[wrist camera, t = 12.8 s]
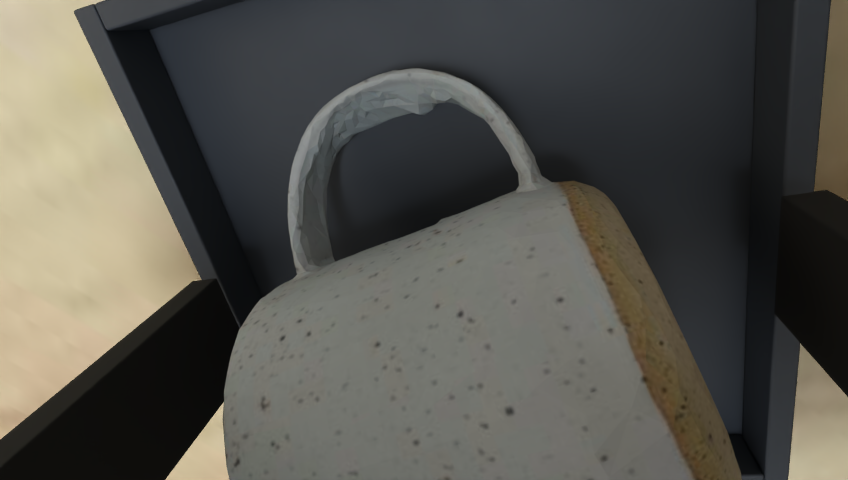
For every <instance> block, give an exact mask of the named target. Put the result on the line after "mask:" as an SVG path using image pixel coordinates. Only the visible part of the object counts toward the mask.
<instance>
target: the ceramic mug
mask: <svg viewBox="0 0 848 480" xmlns="http://www.w3.org/2000/svg"><path fill="white" fill-rule="evenodd" d="M445 102H449V103H454V104H458V105H460V106H461V107H463V108H465V109H466V110H468V111H470V112H471V113H473V114H475V115H477V116H479V117H481V118H483V119H484V120H485V121H486V122H487V123H488V124H489V125H490V127H491V128H492V130H493V131H494V133H495V134H496V136H497V137H498V139H499V140H500V142H501V143H502V145H503V146H504V148H505V149H506V151H507V152H508V154H509V155H510V158H511V161H512V164H513V166H514V167H515V169H516V171H517V172H518V177H519V186H518V188H517V190H516V191H513V192H511V193H508V194H505V195H503V196H500V197H498V198H495V199H493V200H491V201H489V202H486V203H484V204H481V205H478V206H476V207H473V208H471V209H469V210H466V211H464V212H461V213H459V214H456V215H453V216H450V217H447V218H444V219H441V220H440V221H439V222H438V223H437V224H435V225H433V226H430V227H427V228H425V229H422V230H420V231H417V232H414V233H412V234H409V235H406V236H404V237H401V238H398V239H395V240H392V241H389V242H386V243H383V244H381V245H378V246H375V247H372V248H369V249H366V250H364V251H361V252H359V253H357V254H354V255H352V256H349V257H346V258H343V259H341V260H338V261H336V262H335V260H334V258H333V254H332V248H331V243H330V238H329V231H328V223H327V185H328V181H329V177H330V174H331V170H332V165H333V163H334V161H335V159H336V156H337V154H338V152H339V151H340V149H341V148H342V147H343V145H345V144H346V143H348V142H349V141H350V140H351V138H352V137H353V135H355V134H357V133H359V132H362V131H364V130H367V129H369V128H372V127H374V126H376V125H379V124H381V123H383V122H386V121H388V120H390V119H392V118H395V117H399V116H403V115H406V114H410V113H416V114H419V115H425V114H427V113H428V112H430V111H431V110H433V109H434V107H435V106H436V104H437V103H445ZM288 227H289V234H290V242H291V248H292V252H293V258H294V264H295V267H296V272H297V275H296V276H295V277H294V278H293V279H292V280H290V281H288V282H285V283H283V284H282V285H280V286H278V287H277V288H275V289H274V290H273V291H271V292H270V293H269V294H267V295H266V296H265V297H263V298H261V299H260V300H259V302H258V303H257V304H256V305H255V307H254V308H253V309H252V311H251V312H250V314H249V315H248V317H247V318H246V320H245V322H244V323H243V325H242V326H241V328H240V329H239V332H238V335H237V338H236V341H235V344H234V347H233V350H232V354H231V357H230V362H229V367H228V372H227V377H226V383H225V389H224V409H223V429H224V442H225V454H226V465H227V470H228V475H229V479H230V480H742V478H741V472H740V469H739V466H738V463H737V460H736V457H735V454H734V451H733V448H732V444H731V441H730V438H729V435H728V432H727V430H726V428H725V425H724V423H723V421H722V419H721V417H720V414H719V412H718V410H717V408H716V405H715V403H714V401H713V399H712V396H711V394H710V392H709V390H708V388H707V385H706V383H705V381H704V379H703V377H702V375H701V372H700V370H699V368H698V366H697V364H696V362H695V360H694V357H693V355H692V353H691V351H690V349H689V347H688V345H687V342H686V340H685V338H684V336H683V334H682V332H681V330H680V328H679V326H678V323H677V321H676V319H675V317H674V315H673V313H672V311H671V309H670V307H669V305H668V302H667V300H666V298H665V296H664V294H663V292H662V290H661V288H660V286H659V284H658V282H657V280H656V278H655V276H654V274H653V272H652V270H651V268H650V267H649V265H648V263H647V261H646V259H645V257H644V255H643V253H642V252H641V250H640V248H639V246H638V244H637V242H636V240H635V239H634V237H633V235H632V233H631V232H630V230H629V228H628V226H627V224H626V223H625V221H624V219H623V218H622V216H621V214H620V213H619V211H618V209H617V208H616V206H615V205H614V203H613V202H612V201H611V200H610V199H609V198H608V197H607V196H606V194H604V193H603V192H601V191H600V190H598V189H597V188H595V187H593V186H589V185H586V184H583V183H580V182H576V181H563V182H551V181H549V180H548V179H546V178H544V177H543V176H542V175H541V173H540V170H539V168H538V165H537V163H536V160H535V156H534V155H533V153H532V151H531V150H530V148H529V146H528V144H527V143H526V141H525V140H524V138H523V136H522V135H521V133H520V132H519V130H518V129H517V127H516V126H515V125H514V123H513V122H512V121H511V119H510V118H509V117H508V116H507V114H506V113H505V112H504V111H503V109H502V108H501V107H500V106H499V105H498V104H497V103H496V102H495V101H494V100H493V99H492V98H491V97H490V96H488V95H487V94H486V93H485V92H483V91H482V90H481V89H479V88H478V87H476V86H474V85H473V84H471V83H469V82H467V81H465V80H463V79H460V78H458V77H455V76H453V75H450V74H448V73H445V72H440V71H433V70H426V69H421V68H410V69H404V70H393V71H390V72H386V73H382V74H379V75H376V76H373V77H371V78H369V79H367V80H364V81H362V82H360V83H358V84H356V85H354V86H352V87H350V88H348V89H346V90H345V91H343V92H342V93H340V94H339V95H337V96H336V97H334V98H333V99H332V100H331V101H329V102H328V103H327V104H326V105H324V106H323V107H322V109H321V110H320V111H319V112H318V113H317V114H316V115H315V117H314V118H313V119H312V121H311V122H310V124H309V125H308V127H307V129H306V131H305V132H304V134H303V136H302V138H301V141H300V144H299V146H298V149H297V152H296V155H295V157H294V161H293V164H292V168H291V175H290V182H289V189H288Z"/></svg>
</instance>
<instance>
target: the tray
mask: <svg viewBox="0 0 848 480" xmlns="http://www.w3.org/2000/svg"><path fill="white" fill-rule="evenodd" d="M830 6H831V0H105V1H102V2H99V3H97V4H92V5H89V6H86V7H83V8H80V9H77V10H75V11H74V14H75V16H76V18H77V20H78V22H79V24H80V26H81V28H82V30H83V32H84V35H85V37H86V39H87V41H88V43H89V45H90V47H91V49H92V51H93V53H94V55H95V58H96V60H97V62H98V64H99V66H100V68H101V70H102V72H103V74H104V76H105V78H106V81H107V83H108V85H109V87H110V89H111V91H112V93H113V95H114V97H115V99H116V101H117V104H118V106H119V108H120V110H121V112H122V114H123V116H124V118H125V120H126V122H127V125H128V127H129V129H130V131H131V133H132V135H133V137H134V139H135V141H136V143H137V145H138V148H139V150H140V152H141V154H142V156H143V158H144V160H145V162H146V164H147V166H148V168H149V171H150V173H151V175H152V177H153V179H154V181H155V183H156V185H157V187H158V189H159V191H160V194H161V196H162V198H163V200H164V202H165V204H166V206H167V208H168V210H169V212H170V215H171V217H172V219H173V221H174V223H175V225H176V227H177V229H178V231H179V233H180V235H181V238H182V240H183V242H184V244H185V246H186V248H187V250H188V252H189V254H190V256H191V258H192V261H193V263H194V265H195V267H196V269H197V271H198V273H199V275H200V277H201V279H202V280H207V279H214V278H217V280H218V283H219V285H220V287H221V289H222V291H223V293H224V296H225V298H226V300H227V302H228V304H229V306H230V309H231V311H232V313H233V315H234V317H235V319H236V322H237V324H238V326H239V328H241V326H242V325H243V323H244V322H245V320H246V318H247V317H248V315H249V314H250V312H251V311H252V309H253V308H254V307H255V305H256V304H257V303H258V302H259V300H260V299H261V298H263V297H265V296H266V295H267V294H269V293H270V292H271V291H273V290H274V289H275V288H277V287H278V286H280V285H282V284H283V283H285V282H288V281H290V280H292V279H293V278H294V277H295V276H296V275H297V272H296V267H295V264H294V258H293V252H292V248H291V242H290V234H289V227H288V189H289V182H290V175H291V168H292V164H293V161H294V157H295V155H296V152H297V149H298V146H299V144H300V141H301V138H302V136H303V134H304V132H305V131H306V129H307V127H308V125H309V124H310V122H311V121H312V119H313V118H314V117H315V115H316V114H317V113H318V112H319V111H320V110H321V109H322V107H323V106H324V105H326V104H327V103H328V102H329V101H331V100H332V99H333V98H334V97H336V96H337V95H339V94H340V93H342V92H343V91H345V90H346V89H348V88H350V87H352V86H354V85H356V84H358V83H360V82H362V81H364V80H367V79H369V78H371V77H373V76H376V75H379V74H382V73H386V72H390V71H393V70H404V69H410V68H421V69H426V70H433V71H440V72H445V73H448V74H450V75H453V76H455V77H458V78H460V79H463V80H465V81H467V82H469V83H471V84H473V85H474V86H476V87H478V88H479V89H481V90H482V91H483V92H485V93H486V94H487V95H488V96H490V97H491V98H492V99H493V100H494V101H495V102H496V103H497V104H498V105H499V106H500V107H501V108H502V109H503V111H504V112H505V113H506V114H507V116H508V117H509V118H510V119H511V121H512V122H513V123H514V125H515V126H516V127H517V129H518V130H519V132H520V133H521V135H522V136H523V138H524V140H525V141H526V143H527V144H528V146H529V148H530V150H531V151H532V153H533V155H534V156H535V160H536V163H537V165H538V168H539V170H540V173H541V175H542V176H543V177H544V178H546V179H548V180H549V181H551V182H563V181H576V182H580V183H583V184H586V185H589V186H593V187H595V188H597V189H598V190H600V191H601V192H603V193H604V194H606V196H607V197H608V198H609V199H610V200H611V201H612V202H613V203H614V205H615V206H616V208H617V209H618V211H619V213H620V214H621V216H622V218H623V219H624V221H625V223H626V224H627V226H628V228H629V230H630V232H631V233H632V235H633V237H634V239H635V240H636V242H637V244H638V246H639V248H640V250H641V252H642V253H643V255H644V257H645V259H646V261H647V263H648V265H649V267H650V268H651V270H652V272H653V274H654V276H655V278H656V280H657V282H658V284H659V286H660V288H661V290H662V292H663V294H664V296H665V298H666V300H667V302H668V305H669V307H670V309H671V311H672V313H673V315H674V317H675V319H676V321H677V323H678V326H679V328H680V330H681V332H682V334H683V336H684V338H685V340H686V342H687V345H688V347H689V349H690V351H691V353H692V355H693V357H694V360H695V362H696V364H697V366H698V368H699V370H700V372H701V375H702V377H703V379H704V381H705V383H706V385H707V388H708V390H709V392H710V394H711V396H712V399H713V401H714V403H715V405H716V408H717V410H718V412H719V414H720V417H721V419H722V421H723V423H724V425H725V428H726V430H727V432H728V435H729V438H730V441H731V444H732V448H733V451H734V454H735V457H736V460H737V463H738V466H739V469H740V472H741V478H742V480H788V474H789V463H790V452H791V440H792V429H793V418H794V407H795V396H796V385H797V374H798V362H799V351H800V342H799V341H798V340H797V339H796V338H795V336H794V335H793V334H792V333H791V332H790V331H789V330H788V328H787V327H786V326H785V325H784V324H783V323H782V322H781V321H780V319H779V318H778V317H777V316H776V315H775V314H774V309H775V293H776V277H777V260H778V244H779V228H780V211H781V196H788V195H795V194H802V193H809V192H814V184H815V173H816V162H817V151H818V140H819V129H820V117H821V106H822V95H823V84H824V73H825V62H826V51H827V39H828V28H829V17H830ZM518 186H519V177H518V172H517V171H516V169H515V167H514V166H513V164H512V161H511V158H510V155H509V154H508V152H507V151H506V149H505V148H504V146H503V145H502V143H501V142H500V140H499V139H498V137H497V136H496V134H495V133H494V131H493V130H492V128H491V127H490V125H489V124H488V123H487V122H486V121H485V120H484V119H483V118H481V117H479V116H477V115H475V114H473V113H471V112H470V111H468V110H466V109H465V108H463V107H461V106H460V105H458V104H454V103H449V102H445V103H437V104H436V106H435V107H434V109H433V110H431V111H430V112H428V113H427V114H425V115H419V114H416V113H410V114H406V115H403V116H399V117H395V118H392V119H390V120H388V121H386V122H383V123H381V124H379V125H376V126H374V127H372V128H369V129H367V130H364V131H362V132H359V133H357V134H355V135H353V137H352V138H351V140H350V141H349V142H348V143H346V144H345V145H343V147H342V148H341V149H340V151H339V152H338V154H337V156H336V159H335V161H334V163H333V165H332V170H331V174H330V177H329V181H328V185H327V223H328V231H329V238H330V243H331V248H332V254H333V258H334V260H335V262H336V261H338V260H341V259H343V258H346V257H349V256H352V255H354V254H357V253H359V252H361V251H364V250H366V249H369V248H372V247H375V246H378V245H381V244H383V243H386V242H389V241H392V240H395V239H398V238H401V237H404V236H406V235H409V234H412V233H414V232H417V231H420V230H422V229H425V228H427V227H430V226H433V225H435V224H437V223H438V222H439V221H440V220H441V219H444V218H447V217H450V216H453V215H456V214H459V213H461V212H464V211H466V210H469V209H471V208H473V207H476V206H478V205H481V204H484V203H486V202H489V201H491V200H493V199H495V198H498V197H500V196H503V195H505V194H508V193H511V192H513V191H516V190H517V188H518Z"/></svg>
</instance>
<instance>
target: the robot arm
mask: <svg viewBox="0 0 848 480" xmlns="http://www.w3.org/2000/svg"><path fill="white" fill-rule="evenodd" d="M774 314H775V315H776V316H777V317H778V318H779V319H780V321H781V322H782V323H783V324H784V325H785V326H786V327H787V328H788V330H789V331H790V332H791V333H792V334H793V335H794V336H795V338H796V339H797V340H798V341H799V342H800V343H801V344H802V345H803V347H804V348H805V349H806V350H807V351H808V352H809V353H810V354H811V356H812V357H813V358H814V359H815V360H816V361H817V362H818V364H819V365H820V366H821V367H822V368H823V369H824V370H825V371H826V373H827V374H828V375H829V376H830V377H831V378H832V379H833V380H834V382H835V383H836V384H837V385H838V386H839V387H840V388H841V390H842V391H843V392H844V393H845V394H846V395H847V396H848V201H846V200H844V199H843V198H841V197H839V196H837V195H835V194H833V193H832V192H830V191H828V190H823V191H816V192H809V193H802V194H795V195H788V196H781V211H780V228H779V244H778V260H777V277H776V293H775V309H774ZM239 329H240V328H239V326H238V324H237V322H236V319H235V317H234V315H233V313H232V311H231V309H230V306H229V304H228V302H227V300H226V298H225V296H224V293H223V291H222V289H221V287H220V285H219V283H218V280H217V278H214V279H207V280H200V281H193V282H191V283H190V284H189V285H188V286H186V287H185V288H184V289H183V290H182V291H180V292H179V293H178V294H177V295H176V296H174V297H173V298H172V299H171V300H169V301H168V302H167V303H166V304H165V305H163V306H162V307H161V308H160V309H159V310H157V311H156V312H155V313H154V314H152V315H151V316H150V317H149V318H148V319H146V320H145V321H144V322H143V323H142V324H140V325H139V326H138V327H137V328H135V329H134V330H133V331H132V332H131V333H129V334H128V335H127V336H126V337H124V338H123V339H122V340H121V341H120V342H118V343H117V344H116V345H115V346H114V347H112V348H111V349H110V350H109V351H107V352H106V353H105V354H104V355H103V356H101V357H100V358H99V359H98V360H97V361H95V362H94V363H93V364H92V365H90V366H89V367H88V368H87V369H86V370H84V371H83V372H82V373H81V374H80V375H78V376H77V377H76V378H75V379H73V380H72V381H71V382H70V383H69V384H67V385H66V386H65V387H64V388H63V389H61V390H60V391H59V392H58V393H56V394H55V395H54V396H53V397H52V398H50V399H49V400H48V401H47V402H46V403H44V404H43V405H42V406H41V407H39V408H38V409H37V410H36V411H35V412H33V413H32V414H31V415H30V416H29V417H27V418H26V419H25V420H24V421H22V422H21V423H20V424H19V425H18V426H16V427H15V428H14V429H13V430H12V431H10V432H9V433H8V434H7V435H5V436H4V437H3V438H2V439H1V440H0V480H165V479H166V478H167V476H168V475H169V474H170V472H171V471H172V470H173V468H174V467H175V466H176V464H177V463H178V462H179V460H180V459H181V458H182V456H183V455H184V454H185V452H186V451H187V450H188V448H189V447H190V446H191V444H192V443H193V442H194V440H195V439H196V438H197V437H198V435H199V434H200V433H201V431H202V430H203V429H204V427H205V426H206V425H207V423H208V422H209V421H210V419H211V418H212V417H213V415H214V414H215V413H216V411H217V410H218V409H219V407H220V406H221V405H222V403H223V402H224V389H225V383H226V377H227V372H228V367H229V362H230V357H231V354H232V350H233V347H234V344H235V341H236V338H237V335H238V332H239Z"/></svg>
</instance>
